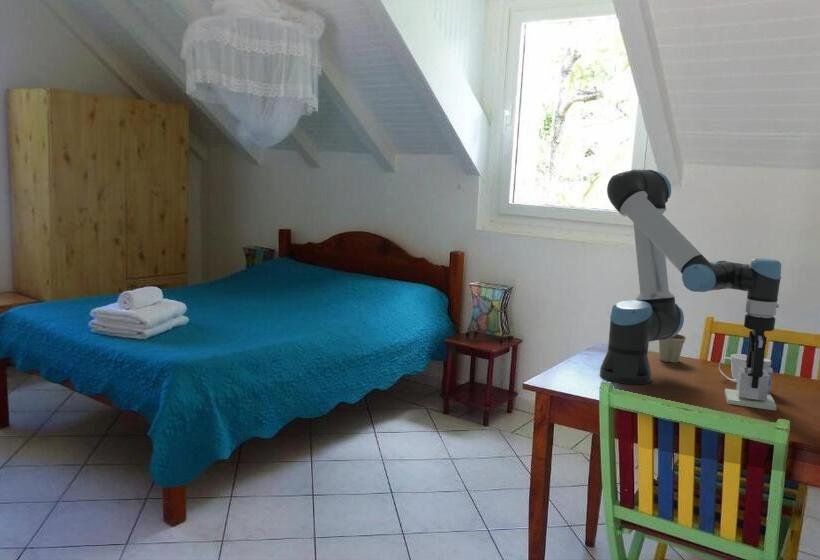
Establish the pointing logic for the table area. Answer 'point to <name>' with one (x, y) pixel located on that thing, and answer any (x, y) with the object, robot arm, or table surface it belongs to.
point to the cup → (735, 365)
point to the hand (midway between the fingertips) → (750, 394)
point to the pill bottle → (768, 370)
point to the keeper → (749, 400)
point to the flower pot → (671, 348)
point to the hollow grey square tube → (744, 381)
